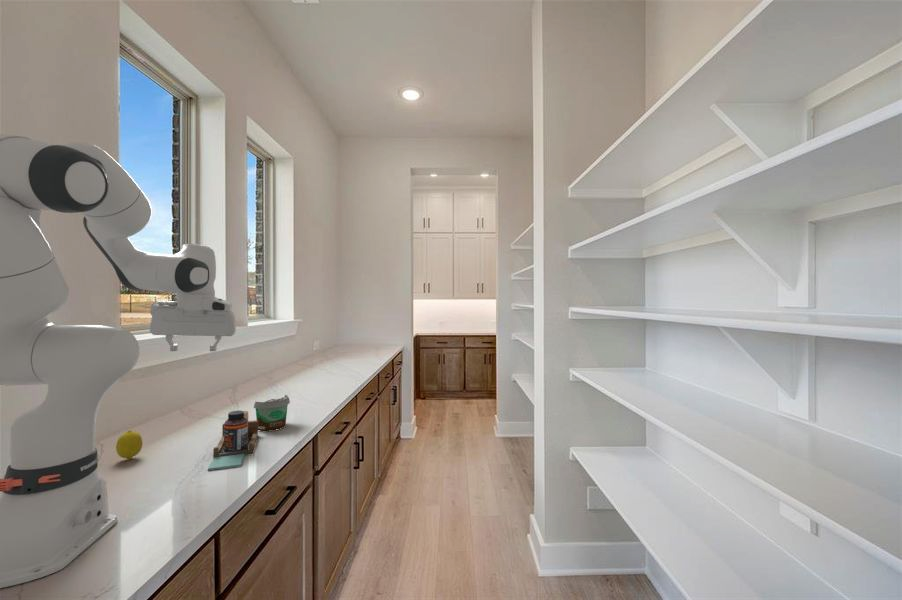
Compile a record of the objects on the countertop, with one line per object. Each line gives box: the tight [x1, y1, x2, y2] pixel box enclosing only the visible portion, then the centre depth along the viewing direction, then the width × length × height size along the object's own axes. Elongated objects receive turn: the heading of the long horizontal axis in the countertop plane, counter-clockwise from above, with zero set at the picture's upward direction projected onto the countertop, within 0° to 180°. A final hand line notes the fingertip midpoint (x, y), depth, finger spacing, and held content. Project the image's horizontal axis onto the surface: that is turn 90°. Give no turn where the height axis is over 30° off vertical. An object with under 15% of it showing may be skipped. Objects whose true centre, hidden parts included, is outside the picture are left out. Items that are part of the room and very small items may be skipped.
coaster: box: [207, 454, 245, 472], centre depth 104 cm, size 8×8×1 cm
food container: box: [253, 394, 291, 432], centre depth 133 cm, size 12×6×10 cm, turn 148°
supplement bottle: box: [223, 410, 248, 453], centre depth 113 cm, size 6×6×11 cm
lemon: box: [115, 429, 143, 460], centre depth 106 cm, size 6×6×8 cm
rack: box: [212, 419, 259, 459], centre depth 116 cm, size 16×10×5 cm, turn 22°
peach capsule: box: [243, 410, 249, 442], centre depth 120 cm, size 5×5×9 cm
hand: (193, 350), depth 110 cm, fingers open, 8 cm apart
